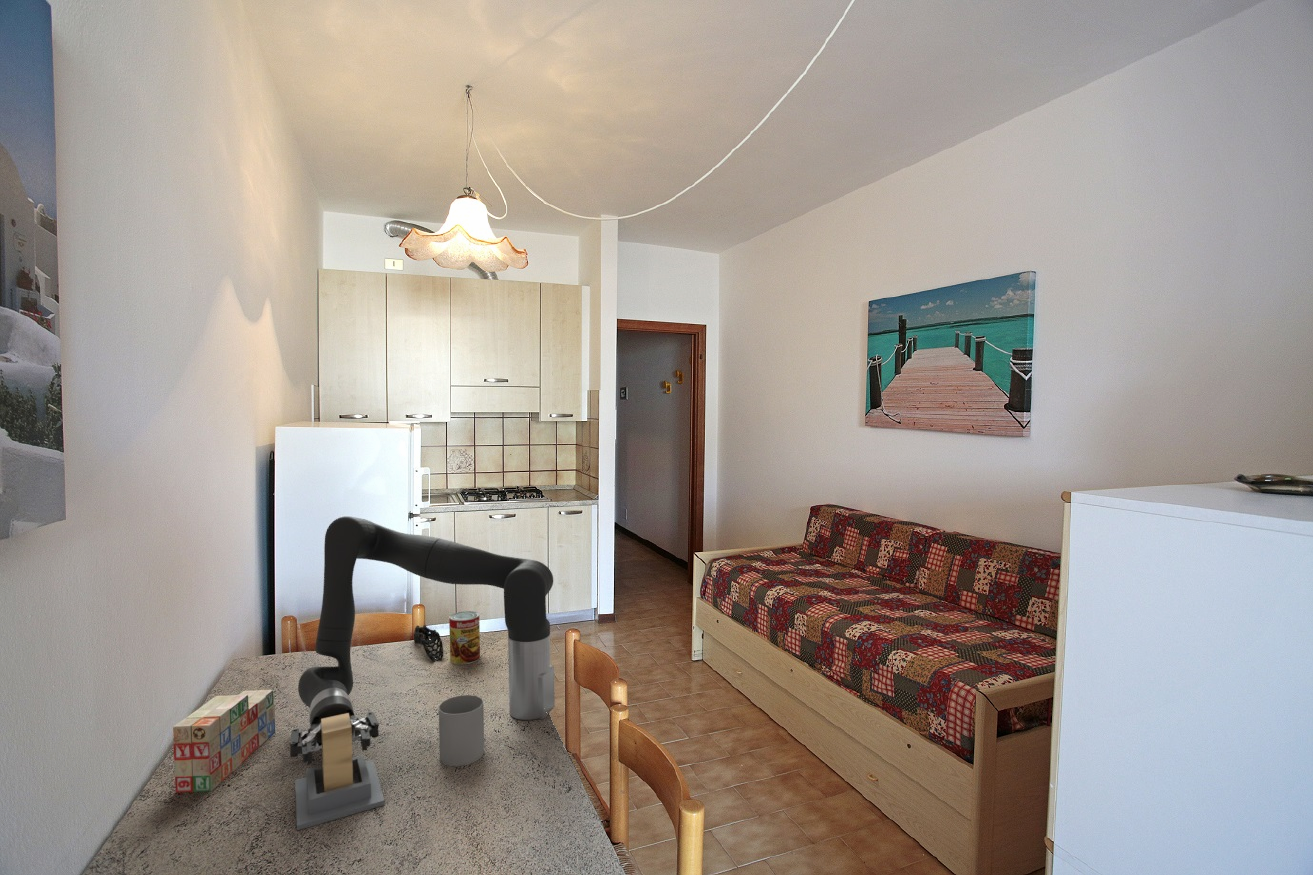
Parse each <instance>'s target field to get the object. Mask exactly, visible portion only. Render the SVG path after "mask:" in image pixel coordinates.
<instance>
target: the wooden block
mask: <svg viewBox="0 0 1313 875" xmlns="http://www.w3.org/2000/svg"><path fill="white" fill-rule="evenodd" d="M321 729H322V748H321V759H322V760H321V762H322V764H321V765H323V790H324V792H327V791H331V790H335V789H338V788H342V787H346V786H349V785H353V764H352V757H353V742H352V727H351V722H350V717H349V713H346V714H341V715H337V716H332V717H328V718H323V719H321Z"/></svg>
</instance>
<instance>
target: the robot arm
mask: <svg viewBox="0 0 1313 875" xmlns="http://www.w3.org/2000/svg"><path fill="white" fill-rule="evenodd" d="M323 548H324V552H323V553H324V554H323V555H324V559H323V560H324V565H323V566H324V567H323V591H322V593H323V594H322V604H321V611H320V616H319V617H320V618H319V623H318V628H317V633H316V639H315V645H314V650H315V653H316V654H318V655H321V656H324V657H331V658H333V659H335V660H336V661H337V665H336V666H312V667H309V668H308V669H306V670H305V671H303V673H302V674H301V676H300V678H299V680H298V683H297V684H298V685H297V690H298V696H299V698H300V700H301V701H302V703H303V704H305V706H306V707H308V708H309V712H308V714H309V715H308V718H309V720H308V721H309V726H310V727H309V728H308V730H305V731H302V730H301V731H300V728H293V729H292V730H291V732H290V738H289V739H290V741H289V754H290V755H289V756H290V758H293V759H294V758H296V757H298V756H299V755H301V757H302V762H303V763H307V765H311V764H313V752H318V751H320V749H322V729H321V719H323V718H328V717H332V716H337V715H341V714H346V713H349V717H350V722H351V727H352V743H355V742H357V741H358V742H360V745H361V749H362V752H364V751H367V750H368V747H370V746H371V745H372V744H371V743H372V742H371V738H373V739H374V738H379V736H380V731H379V726H380V725H379V720H378V719H377V717H376V715H375V713H374V711H369V712H367V713H366V716H365V717H361V718H359V717H357V716H355V712H354V707H353V702H352V700H351V698H350V694H351V692H353V691H352V690H353V687H354V676H353V669H352V663H351V662H352V660H351V646H352V637H353V633H354V627H355V617H356V607H355V599H354V591H353V590H354V589H353V577H354V570H355V565H356V562H357V559H358V560H359V559H361V560H370V561H377V562H383V563H388V564H392V565H394V566H397V567H399V568H401V569H404V570H406V571H407V572H409V573H410V574H411V573H412V574H414V575H416V576H419V577H422V578H425V579H428V580H431V581H435V582H438V583H443V584H450V585H464V586H465V585H477V586H478V585H480V586H481V585H484V586H491V587H496V588H500V589H503V607H504V608H503V610H504V621H505V622H504V623H505V626H506V628H507V640H508V641H507V642H508V643H507V644H508V645H507V647H508V650H507V652H508V655H507V656H508V699H509V702H508V706H509V715H510V716H511V717H512V718H514V719H516V720H522V721H531V720H536V719H545V718H546V717H547V716H548V715H547V713H548V714H550V712H551V711H552V710H553V709H554V708H555V707H556V706H555V704H556V700H555V699H556V698H555V697H556V696H555V666H554V665H551V622H550V620H549V619H547V605H546V604H547V601H546V597H547V595H548V594H549V593H550V591H551V590H552V587H553V586H554V576H553V573H552V570H551V569H550V568H549V567H548V566H547V565H546V564H544V563H543V562H541V561H538V560H535V559H527V558H520V557H514V556H506V555H501V554H497V553H493V552H489V551H486V550H483V549H479V548H478V547H477V548H476V547H472V546H470V545H465V544H462V543H458V542H455V541H452V540H448V539H443V538H441V537H440V538H439V537H434V536H429V535H423V534H411V533H404V532H400V531H396V530H393V529H391V528H388V527H385V526H383V525H380V524H377V523H375V522H373V521H371V520H368V519H366V518H360V517H354V516H339V517H338V518H336V519H334V520H333V521H332V522H331V523H330V524H329V525H328V527H327V529H326V530H325V534H324V547H323ZM544 708H545V709H544ZM546 712H547V713H546Z"/></svg>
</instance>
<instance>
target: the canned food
mask: <svg viewBox="0 0 1313 875" xmlns="http://www.w3.org/2000/svg"><path fill="white" fill-rule="evenodd" d="M448 617H449V618H448V620H449V622H448V623H449V661H450V663H451V664H454V665H460V664H461V665H470V664H474V663H475V662H478V661H479V660H480V658H481V641H480V640H481V639H480V638H481V637H480V636H481V634H480V632H481V631H480V629H481V628H480V613H479V612H477V611H473V610H469V611H468V610H465V611H458V612H455V613H452V614H451V615H449V616H448Z"/></svg>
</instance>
